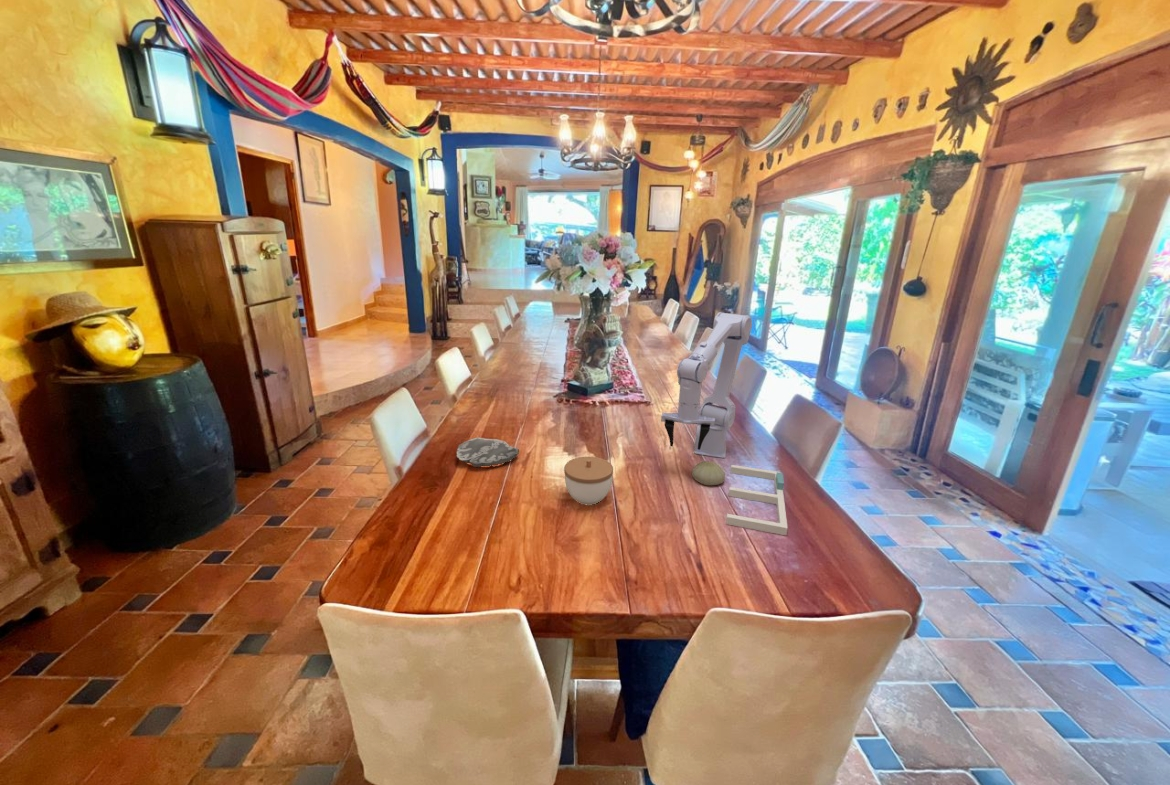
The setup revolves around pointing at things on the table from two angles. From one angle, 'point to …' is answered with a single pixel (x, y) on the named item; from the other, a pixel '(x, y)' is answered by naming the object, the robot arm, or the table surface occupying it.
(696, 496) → the table surface
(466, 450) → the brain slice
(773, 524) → the comb rack
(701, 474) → the sea urchin shell
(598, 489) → the lidded bowl
